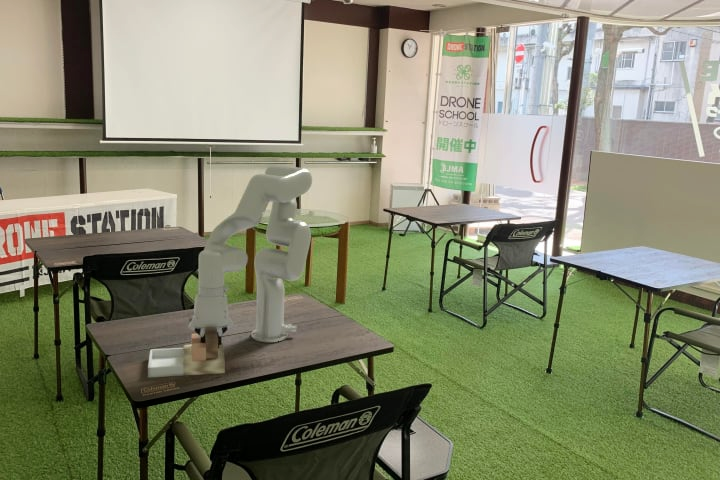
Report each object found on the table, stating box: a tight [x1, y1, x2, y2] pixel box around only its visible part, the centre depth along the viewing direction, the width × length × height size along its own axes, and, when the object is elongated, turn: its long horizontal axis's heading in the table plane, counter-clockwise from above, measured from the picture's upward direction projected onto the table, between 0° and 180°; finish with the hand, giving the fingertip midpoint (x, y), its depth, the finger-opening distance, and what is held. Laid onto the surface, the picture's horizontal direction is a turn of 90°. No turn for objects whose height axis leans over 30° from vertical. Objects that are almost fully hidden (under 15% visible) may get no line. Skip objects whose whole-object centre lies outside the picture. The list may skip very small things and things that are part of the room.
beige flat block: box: [183, 342, 226, 376], centre depth 194 cm, size 12×14×4 cm
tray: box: [147, 347, 185, 378], centre depth 191 cm, size 10×14×3 cm
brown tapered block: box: [204, 327, 218, 358], centre depth 193 cm, size 4×12×6 cm, turn 16°
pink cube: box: [191, 332, 201, 344], centre depth 197 cm, size 4×4×4 cm
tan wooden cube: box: [191, 343, 206, 361], centre depth 189 cm, size 4×4×4 cm
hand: (211, 346), depth 194 cm, fingers closed on brown tapered block, 3 cm apart
